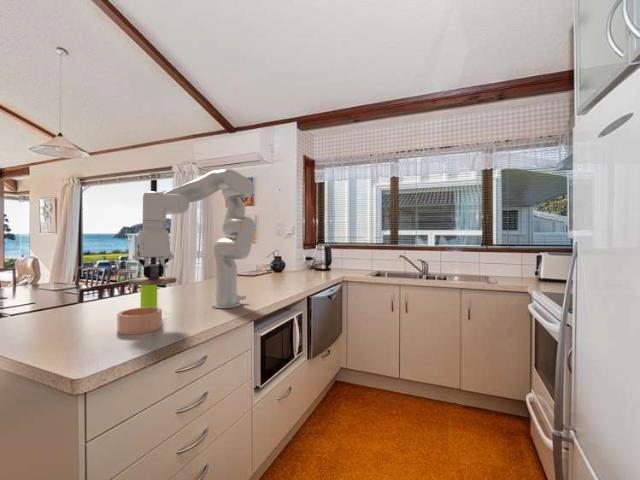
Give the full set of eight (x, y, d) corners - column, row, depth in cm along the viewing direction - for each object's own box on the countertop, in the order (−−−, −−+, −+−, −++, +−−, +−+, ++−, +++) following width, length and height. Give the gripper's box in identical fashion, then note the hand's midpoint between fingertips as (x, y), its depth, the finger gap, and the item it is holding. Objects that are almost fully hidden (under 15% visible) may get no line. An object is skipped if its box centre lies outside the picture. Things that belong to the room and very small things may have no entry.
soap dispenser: (161, 313, 130) (161, 266, 129) (151, 317, 123) (151, 267, 123) (148, 312, 130) (148, 265, 130) (137, 317, 123) (137, 267, 123)
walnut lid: (170, 278, 121) (170, 263, 121) (181, 283, 110) (181, 265, 110) (126, 281, 112) (126, 264, 112) (133, 286, 100) (133, 267, 100)
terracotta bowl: (154, 321, 117) (154, 305, 117) (166, 328, 108) (166, 311, 108) (114, 328, 108) (114, 311, 108) (123, 337, 99) (123, 318, 99)
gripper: (174, 227, 119) (173, 274, 119) (125, 225, 108) (124, 277, 108) (181, 227, 114) (181, 276, 114) (131, 224, 102) (130, 279, 102)
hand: (153, 276), depth 111 cm, fingers closed on walnut lid, 3 cm apart
